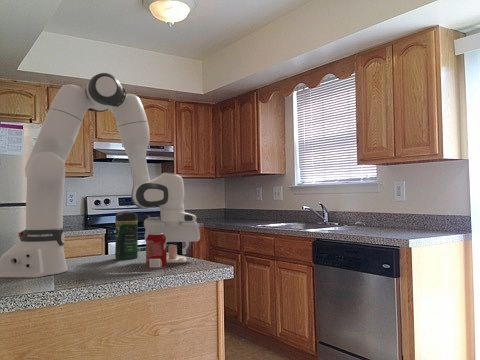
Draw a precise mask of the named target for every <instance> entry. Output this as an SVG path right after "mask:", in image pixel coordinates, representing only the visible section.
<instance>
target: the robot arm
mask: <svg viewBox="0 0 480 360" xmlns="http://www.w3.org/2000/svg"><path fill="white" fill-rule="evenodd" d="M87 111H89V112H97V113H101V112H102V113H103V112H107V111H110V112H111V114H112V115H113V116H114V119H115V123H116V128H117V133H118V135H119V136H118V137H119V139H120V141H121V143H122V147H123V149H124V151H125V154H126V156H127V158H128V162H129V167H130V171H131V172H130V173H131V177H132V182H133V185H132V189H131V194H130V195H131V196H130V197H131V200H132V203H133V204H134V206H136V207H137V208H139V209H142V210H143V209H144V210H147V209H153V208H155V207H160V212H159V213H160V216H154V217H153V216H149V217H146V219H144V221H143V227H144V230H145V231H144V241H145V242H146V238H147V237H148V233H154V232H163V233H165V234H164V235H165V237H166V241H167V243H179V242H181V243H182V242H184V244H185V246H184V248H182V249H181V251H182V252H181V254H182V255H186V254H187V249H188V248H189V245H190V242H199V241H200V240H201V233H200V227H199V224H198V222H197V215H195V214H193V213H190V212H187V211H186V212H185V205H184V201H185V200H184V199H185V184H184V178H183V177H182V176H181V175H180V174H178V173H172V172H163V173H161V174H159V175H158V176H157V177H155V178H152V179H151V177H150V173H149V168H148V163H147V150H148V147H149V144H150V141H151V137H150V135H151V134H150V126H149V120H148V117H147V114H146V110H145V108H144V105H143V103H142V101H141V98H140V97H139V96H138V95H136V94H134V93H127V90H126V89H125V88H124V87H123V85H122V84H121V83H120V81H119V80H118V78H116V77H115V76H114V75H112V74H111V73H107V72H100V73H97V74H95V75H94V76H92V77H91V78H90V80H89V81H88V83H87V84H86V85H85V86H79V85H76V84H71V83H70V84H64V85H62V86H61V87H60V89H58V91H57V93H56V94H55V96H54V98H53V100H52V101H51V104H50V106H49V108H48V111H47V113H46V115H45V118H44V120H43V123H42V126H41V128H40V131H39V133H38V135H37V138H36V141H35V142H34V145H33V147H32V150H31V152H30V155H29V157H28V160H27V162H26V164H25V168H24V174H25V177H26V198H25V199H26V200H25V229H23V230H22V231H20V232H17V234H18V235H17V237H19V241H18V242H17V243H15V244H14V245H13V246H12V247H11V248H9V249H8V250H6V251H5V252H4V253H3V254H1V256H0V278H40V277H45V276H51V275H58V274H61V273H65V272H68V270H69V268H68V265H67V262H66V256H65V248H64V245H65V241H66V240H65V238H66V237H65V228H64V227H63V226H64V224H63V223H64V215H63V214H64V212H63V211H64V210H63V209H64V196H65V186H66V185H65V184H66V183H65V182H66V165H65V163H66V161H67V159H68V157H69V154H70V152H71V150H72V148H73V146H74V144H75V142H76V140H77V137H78V134H79V132H80V128H81V126H82V123H83V120H84V118H85V115H86V113H87Z"/></svg>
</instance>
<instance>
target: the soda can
mask: <svg viewBox="0 0 480 360" xmlns="http://www.w3.org/2000/svg"><path fill="white" fill-rule="evenodd" d="M164 234H165V233H163V232H154V233H148V237H147V238H146V241H145V252H146V253H145V256H146V257H145V263H146V264H145V267H146V269H150V270H158V269H159V270H160V269H165V268H167V264H168V263H167V257H168V254H167V247H168V245H167V244H168V242H167V241H166V237H165V235H164Z"/></svg>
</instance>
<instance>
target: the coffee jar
mask: <svg viewBox="0 0 480 360" xmlns="http://www.w3.org/2000/svg"><path fill="white" fill-rule="evenodd" d="M138 219H139V218H138V214H137V213H136V212H134V211H130V210H129V211H128V210H126V211H120V212H118V213H116V214H115V221H114V222H115V247H114V248H115V252H114V254H115V255H114V257H115V259H116V260H118V261H127V260H136V259H138V257H139V256H138V254H139V251H138V250H139V248H138V246H139V245H138V243H139V242H138V241H139V240H138V237H139V236H138V228H139V227H138V223H139V222H138V221H139V220H138Z"/></svg>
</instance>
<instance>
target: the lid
mask: <svg viewBox="0 0 480 360" xmlns="http://www.w3.org/2000/svg"><path fill="white" fill-rule="evenodd" d="M177 246H178V245H168V256H167V264H171V263H173V264H174V262H182V263H184V262H183V261H186V262H187V257H186V256H178V255H177V254H178V252H177V251H178V249H177V248H178V247H177Z"/></svg>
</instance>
